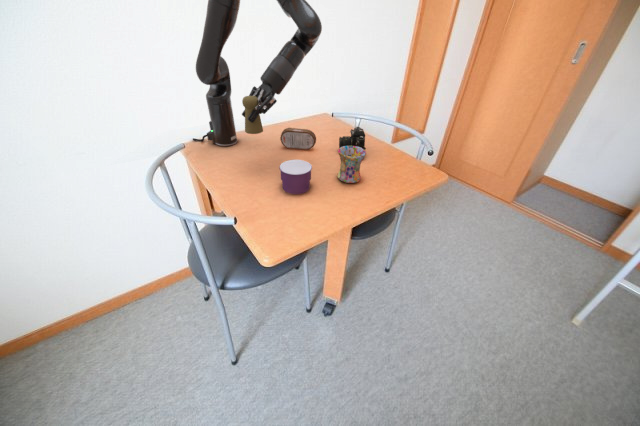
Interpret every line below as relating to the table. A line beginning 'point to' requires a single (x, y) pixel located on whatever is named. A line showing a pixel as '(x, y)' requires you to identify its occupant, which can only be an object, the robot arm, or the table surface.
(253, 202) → the table surface
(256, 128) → the olive green pawn
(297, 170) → the yogurt tub
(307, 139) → the tin
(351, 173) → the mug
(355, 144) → the film camera
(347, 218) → the table surface
